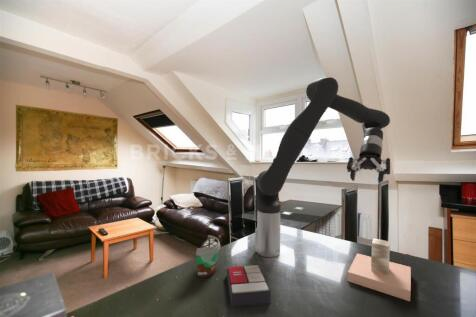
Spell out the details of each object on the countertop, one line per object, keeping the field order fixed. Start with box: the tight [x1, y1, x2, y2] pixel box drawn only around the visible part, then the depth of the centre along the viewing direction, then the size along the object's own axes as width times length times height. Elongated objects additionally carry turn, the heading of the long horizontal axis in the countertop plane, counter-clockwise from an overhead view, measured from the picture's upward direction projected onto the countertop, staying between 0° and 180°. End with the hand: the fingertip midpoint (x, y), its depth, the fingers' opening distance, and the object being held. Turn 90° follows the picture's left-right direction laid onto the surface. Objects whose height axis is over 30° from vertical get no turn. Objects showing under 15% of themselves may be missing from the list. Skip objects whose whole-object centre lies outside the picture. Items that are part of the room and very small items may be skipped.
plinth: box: [347, 253, 412, 302], centre depth 74 cm, size 16×16×3 cm
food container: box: [195, 234, 221, 278], centre depth 79 cm, size 12×6×10 cm, turn 168°
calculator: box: [226, 264, 272, 307], centre depth 69 cm, size 11×4×15 cm
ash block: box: [370, 238, 391, 275], centre depth 74 cm, size 5×5×9 cm
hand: (365, 180), depth 83 cm, fingers open, 8 cm apart
